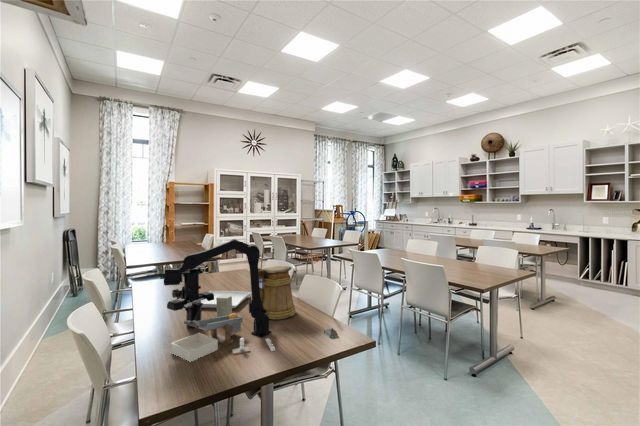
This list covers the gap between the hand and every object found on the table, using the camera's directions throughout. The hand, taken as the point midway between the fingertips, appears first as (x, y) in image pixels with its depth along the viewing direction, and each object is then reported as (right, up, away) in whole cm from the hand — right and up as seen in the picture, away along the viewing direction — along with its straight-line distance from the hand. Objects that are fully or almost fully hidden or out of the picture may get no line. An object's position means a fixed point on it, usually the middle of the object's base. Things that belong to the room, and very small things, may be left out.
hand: (191, 320), depth 133 cm
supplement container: (-5, -8, +16) cm, 18 cm away
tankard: (+30, -8, +32) cm, 44 cm away
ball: (+16, 0, +6) cm, 17 cm away
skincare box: (+7, -8, +22) cm, 24 cm away
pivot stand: (+12, -8, 0) cm, 15 cm away
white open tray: (+5, -9, -10) cm, 14 cm away
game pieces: (+40, -9, 0) cm, 41 cm away
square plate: (-3, -8, +52) cm, 52 cm away
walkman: (+18, -7, +65) cm, 68 cm away
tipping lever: (+8, -5, +2) cm, 10 cm away
